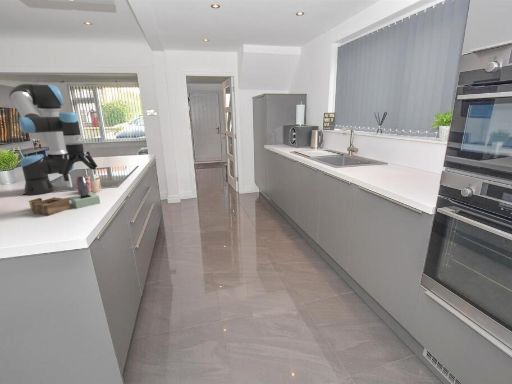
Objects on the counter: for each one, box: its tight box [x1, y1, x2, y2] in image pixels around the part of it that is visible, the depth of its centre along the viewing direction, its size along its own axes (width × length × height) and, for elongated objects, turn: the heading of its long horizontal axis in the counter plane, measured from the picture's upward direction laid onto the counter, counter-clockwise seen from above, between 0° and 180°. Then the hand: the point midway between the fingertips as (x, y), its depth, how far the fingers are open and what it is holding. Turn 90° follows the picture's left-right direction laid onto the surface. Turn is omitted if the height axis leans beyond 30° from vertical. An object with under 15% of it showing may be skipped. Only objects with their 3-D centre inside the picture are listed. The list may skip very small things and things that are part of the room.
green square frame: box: [70, 193, 101, 209], centre depth 147 cm, size 11×11×4 cm
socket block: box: [32, 196, 72, 216], centre depth 137 cm, size 11×11×5 cm
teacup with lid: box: [87, 173, 102, 194], centre depth 172 cm, size 12×9×12 cm
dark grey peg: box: [76, 175, 89, 199], centre depth 146 cm, size 4×4×15 cm
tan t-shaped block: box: [28, 197, 49, 210], centre depth 139 cm, size 9×5×4 cm, turn 71°
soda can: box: [75, 175, 93, 195], centre depth 159 cm, size 7×7×12 cm
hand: (82, 183), depth 145 cm, fingers open, 13 cm apart
